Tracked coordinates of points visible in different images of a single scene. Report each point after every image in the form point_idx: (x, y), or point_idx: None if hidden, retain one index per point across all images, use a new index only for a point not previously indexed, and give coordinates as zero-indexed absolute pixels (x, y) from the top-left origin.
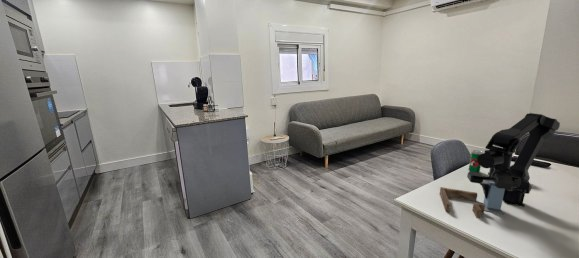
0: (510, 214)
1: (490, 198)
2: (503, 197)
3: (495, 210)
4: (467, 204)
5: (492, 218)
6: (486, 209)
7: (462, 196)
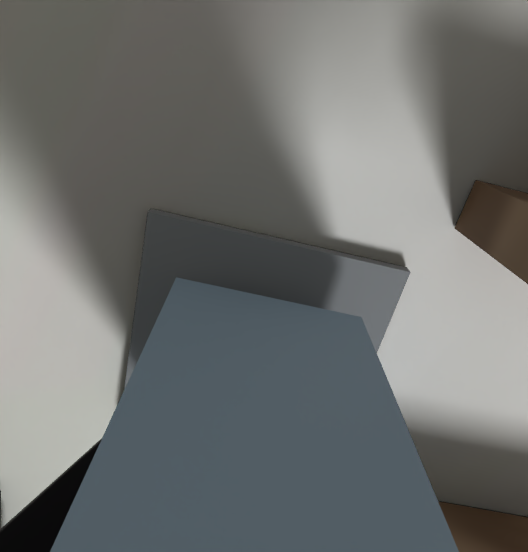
0: (50, 223)
1: (385, 455)
2: (42, 512)
3: (232, 288)
4: (522, 400)
5: (432, 32)
6: (355, 298)
7: (505, 543)
